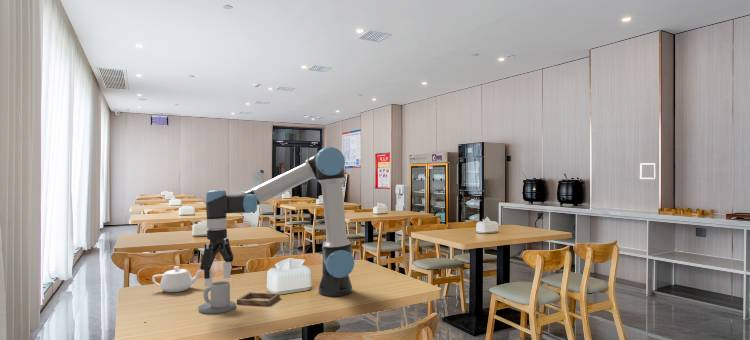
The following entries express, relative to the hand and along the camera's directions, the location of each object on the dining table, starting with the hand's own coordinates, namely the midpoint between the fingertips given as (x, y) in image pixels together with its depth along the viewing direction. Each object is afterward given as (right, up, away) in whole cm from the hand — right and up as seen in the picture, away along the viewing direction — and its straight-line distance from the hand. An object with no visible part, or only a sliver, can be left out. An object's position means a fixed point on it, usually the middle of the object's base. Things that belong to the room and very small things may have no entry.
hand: (218, 282), depth 172 cm
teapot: (-29, -11, +28) cm, 41 cm away
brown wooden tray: (+14, -10, +9) cm, 19 cm away
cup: (0, -10, -1) cm, 10 cm away
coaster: (0, -10, 0) cm, 10 cm away
